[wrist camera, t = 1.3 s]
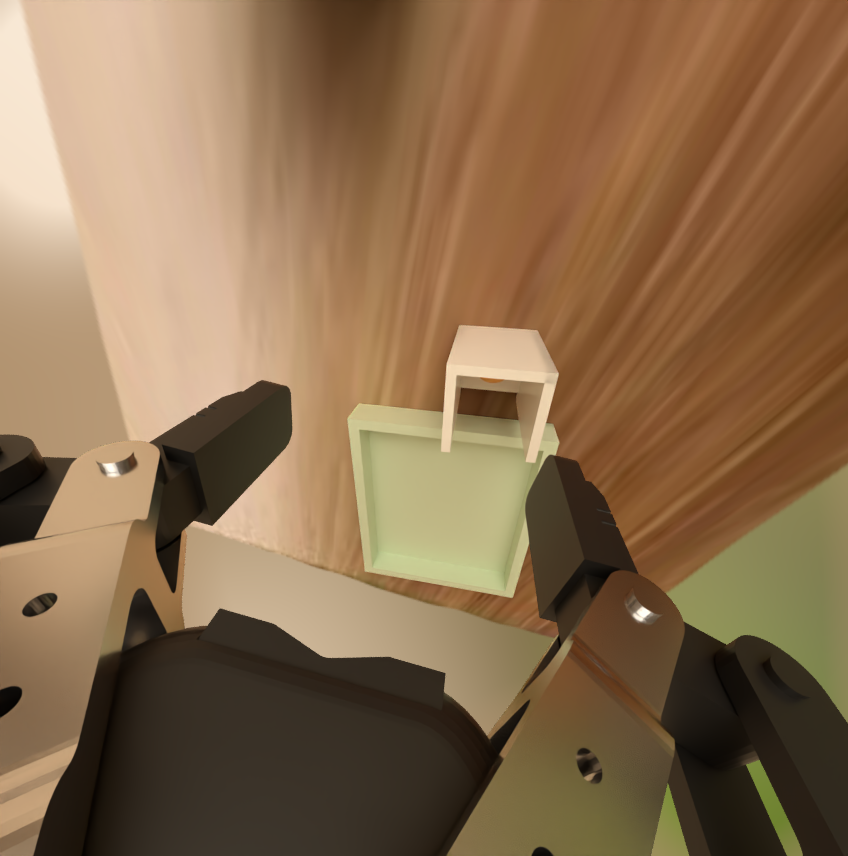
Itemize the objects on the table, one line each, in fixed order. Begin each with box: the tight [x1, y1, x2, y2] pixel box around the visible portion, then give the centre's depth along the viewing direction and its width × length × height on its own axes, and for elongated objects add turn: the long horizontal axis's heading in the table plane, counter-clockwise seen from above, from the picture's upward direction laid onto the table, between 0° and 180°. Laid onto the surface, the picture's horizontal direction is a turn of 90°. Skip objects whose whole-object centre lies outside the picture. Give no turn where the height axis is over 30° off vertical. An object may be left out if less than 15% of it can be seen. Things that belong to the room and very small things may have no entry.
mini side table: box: [441, 325, 559, 463], centre depth 23 cm, size 6×6×9 cm
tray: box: [347, 403, 559, 598], centre depth 34 cm, size 18×22×3 cm
